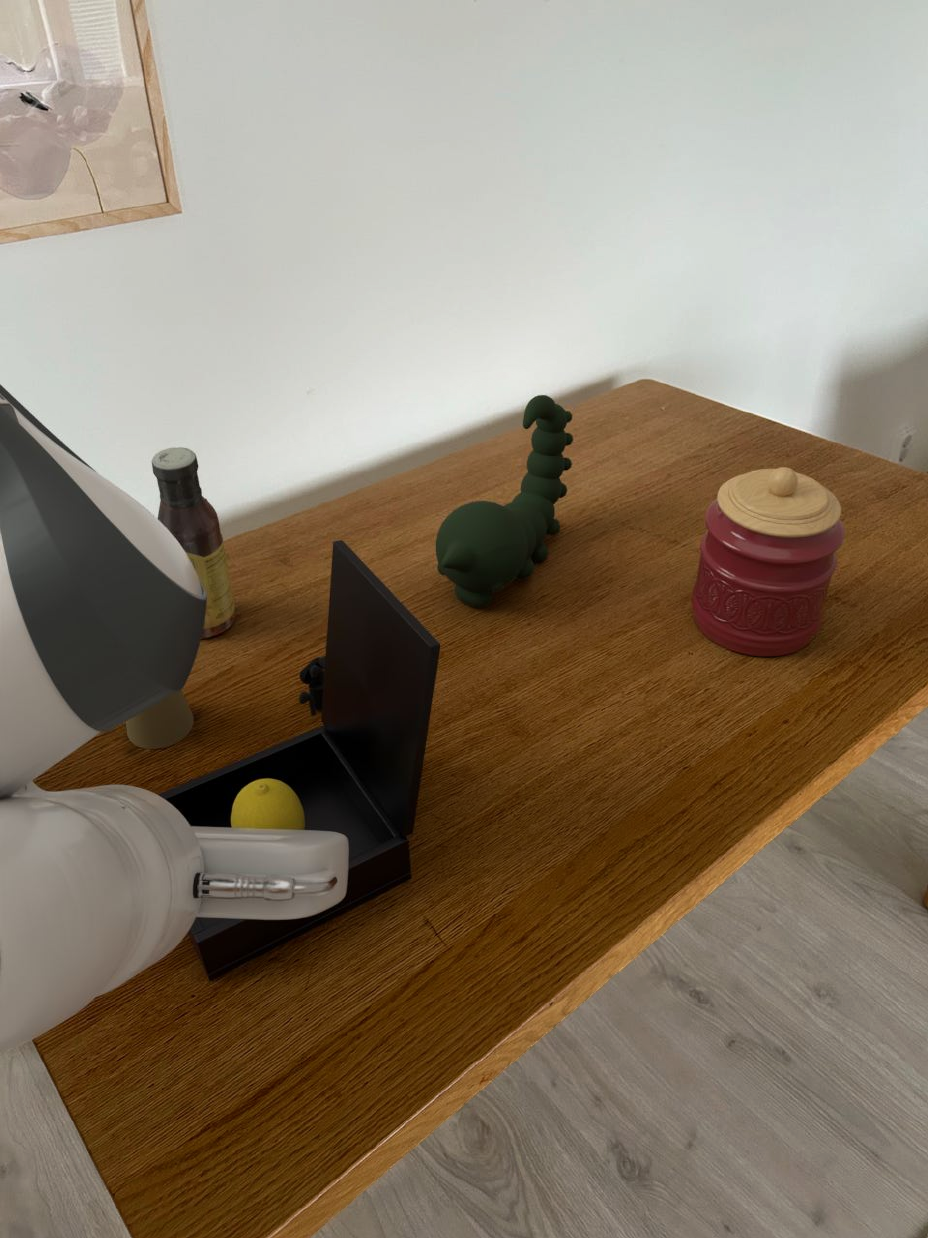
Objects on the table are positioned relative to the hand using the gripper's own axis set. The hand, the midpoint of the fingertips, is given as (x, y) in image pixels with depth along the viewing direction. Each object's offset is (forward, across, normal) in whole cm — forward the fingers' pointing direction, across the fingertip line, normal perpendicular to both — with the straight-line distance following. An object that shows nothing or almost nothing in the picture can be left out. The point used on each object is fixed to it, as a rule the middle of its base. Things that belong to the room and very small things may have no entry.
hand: (197, 847), depth 59 cm
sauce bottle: (+41, +13, -18) cm, 47 cm away
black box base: (+20, 0, +3) cm, 20 cm away
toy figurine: (+49, -17, -25) cm, 57 cm away
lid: (+14, -8, -10) cm, 19 cm away
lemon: (+20, 0, +3) cm, 20 cm away
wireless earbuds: (+34, 0, -10) cm, 35 cm away
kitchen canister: (+43, -43, -20) cm, 64 cm away
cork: (+31, +14, -7) cm, 34 cm away
